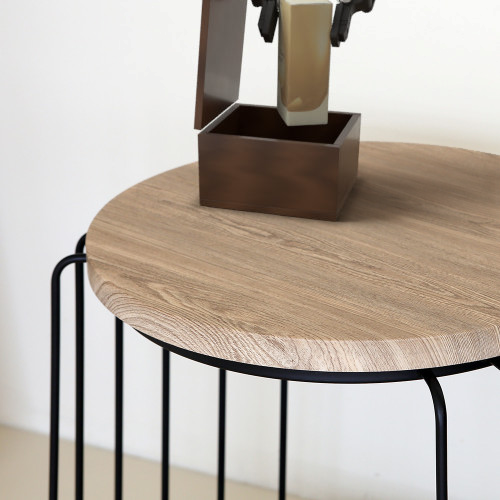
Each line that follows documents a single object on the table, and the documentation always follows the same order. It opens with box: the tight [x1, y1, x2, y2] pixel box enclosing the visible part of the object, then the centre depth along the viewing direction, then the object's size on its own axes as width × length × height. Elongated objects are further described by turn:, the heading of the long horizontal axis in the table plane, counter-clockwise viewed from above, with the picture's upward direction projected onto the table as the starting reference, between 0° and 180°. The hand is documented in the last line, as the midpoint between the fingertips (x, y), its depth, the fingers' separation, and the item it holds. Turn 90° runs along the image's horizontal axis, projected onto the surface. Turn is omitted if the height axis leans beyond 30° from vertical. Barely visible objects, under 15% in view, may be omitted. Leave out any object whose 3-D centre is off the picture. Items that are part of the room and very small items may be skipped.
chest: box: [197, 102, 362, 222], centre depth 86 cm, size 15×13×8 cm
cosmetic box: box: [276, 0, 334, 126], centre depth 81 cm, size 6×4×12 cm
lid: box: [193, 0, 248, 131], centre depth 83 cm, size 15×13×5 cm
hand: (300, 40), depth 79 cm, fingers closed on cosmetic box, 6 cm apart
